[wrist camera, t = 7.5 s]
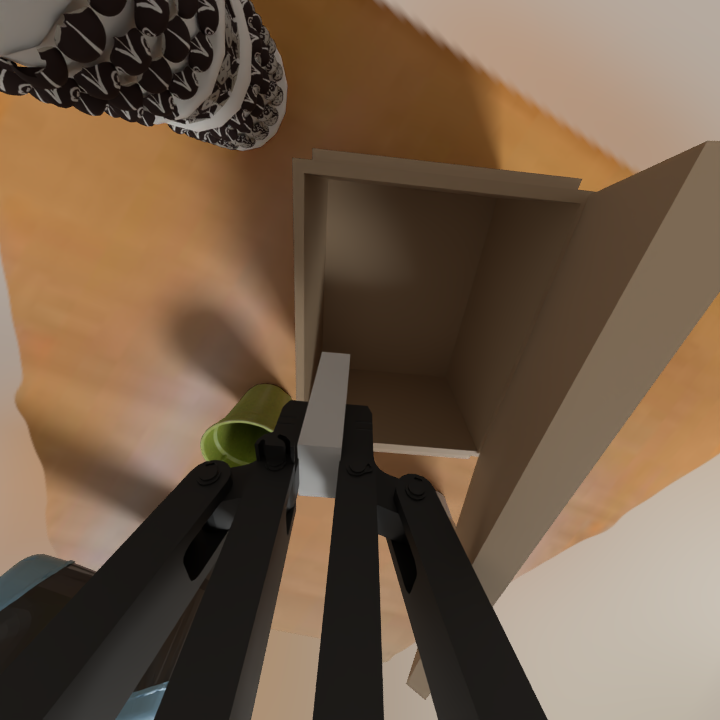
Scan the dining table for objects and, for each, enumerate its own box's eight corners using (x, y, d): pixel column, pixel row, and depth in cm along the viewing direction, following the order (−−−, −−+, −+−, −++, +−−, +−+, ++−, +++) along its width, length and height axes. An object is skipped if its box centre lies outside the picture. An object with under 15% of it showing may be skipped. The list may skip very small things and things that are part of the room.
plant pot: (308, 430, 41) (295, 485, 33) (239, 428, 41) (211, 482, 33) (303, 373, 36) (287, 422, 28) (226, 370, 36) (189, 418, 28)
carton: (317, 371, 36) (296, 446, 25) (322, 163, 25) (292, 145, 15) (447, 382, 36) (480, 460, 26) (506, 184, 26) (602, 180, 15)
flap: (406, 684, 13) (425, 700, 13) (708, 140, 3) (826, 143, 3) (478, 455, 25) (489, 460, 25) (589, 195, 16) (609, 197, 15)
